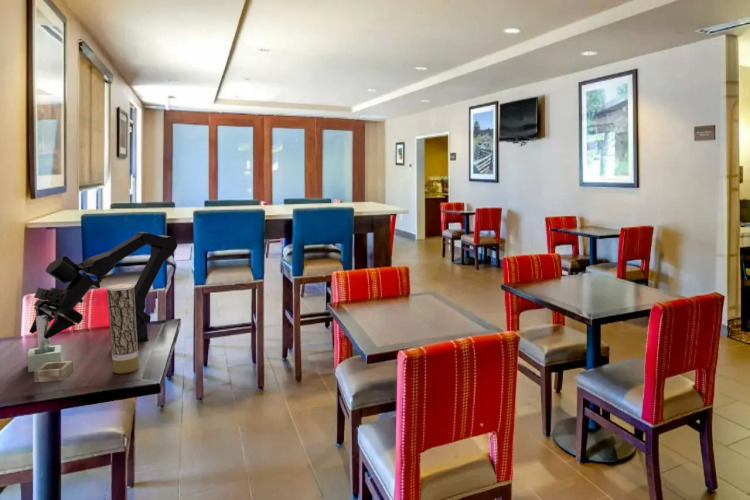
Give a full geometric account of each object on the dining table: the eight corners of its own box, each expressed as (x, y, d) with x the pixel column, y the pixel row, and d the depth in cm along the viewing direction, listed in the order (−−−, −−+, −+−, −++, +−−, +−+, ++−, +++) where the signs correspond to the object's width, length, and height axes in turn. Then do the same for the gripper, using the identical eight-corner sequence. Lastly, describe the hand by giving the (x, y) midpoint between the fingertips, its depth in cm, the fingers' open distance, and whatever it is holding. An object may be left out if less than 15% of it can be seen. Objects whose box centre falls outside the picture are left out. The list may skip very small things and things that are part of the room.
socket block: (62, 358, 148) (60, 344, 147) (61, 366, 141) (60, 352, 140) (30, 363, 144) (29, 349, 143) (28, 372, 137) (27, 357, 136)
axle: (53, 359, 144) (50, 314, 142) (49, 363, 141) (45, 317, 139) (42, 360, 143) (38, 315, 142) (37, 363, 140) (33, 317, 139)
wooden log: (121, 376, 134) (115, 289, 131) (108, 371, 138) (102, 287, 134) (144, 368, 140) (138, 285, 136) (130, 364, 143) (125, 283, 140)
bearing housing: (73, 370, 138) (72, 360, 138) (63, 380, 131) (62, 369, 131) (46, 372, 137) (45, 362, 136) (34, 382, 130) (33, 371, 129)
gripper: (38, 273, 147) (-1, 316, 139) (68, 280, 137) (28, 326, 129) (68, 293, 155) (32, 335, 147) (98, 301, 145) (61, 346, 137)
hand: (37, 335), depth 140 cm, fingers open, 9 cm apart
